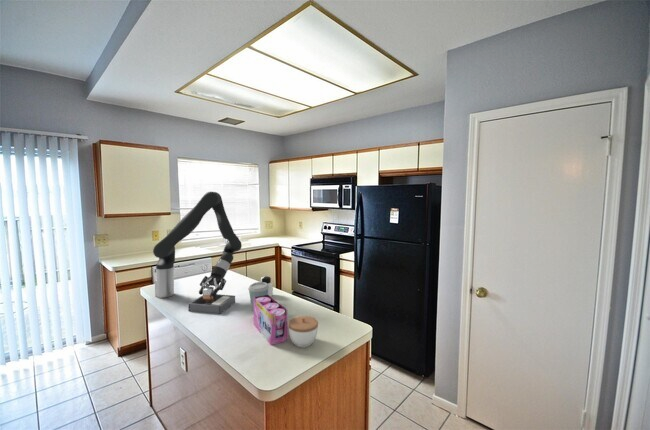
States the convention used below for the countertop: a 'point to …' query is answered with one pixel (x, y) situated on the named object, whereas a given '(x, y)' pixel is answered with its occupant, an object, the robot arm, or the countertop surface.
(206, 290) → the silver lidded jar
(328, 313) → the countertop surface
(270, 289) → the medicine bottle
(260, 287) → the disposable coffee cup
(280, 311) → the gum box
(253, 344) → the countertop surface
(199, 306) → the tote
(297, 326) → the lidded bowl
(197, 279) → the countertop surface
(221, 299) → the cream rectangular block
